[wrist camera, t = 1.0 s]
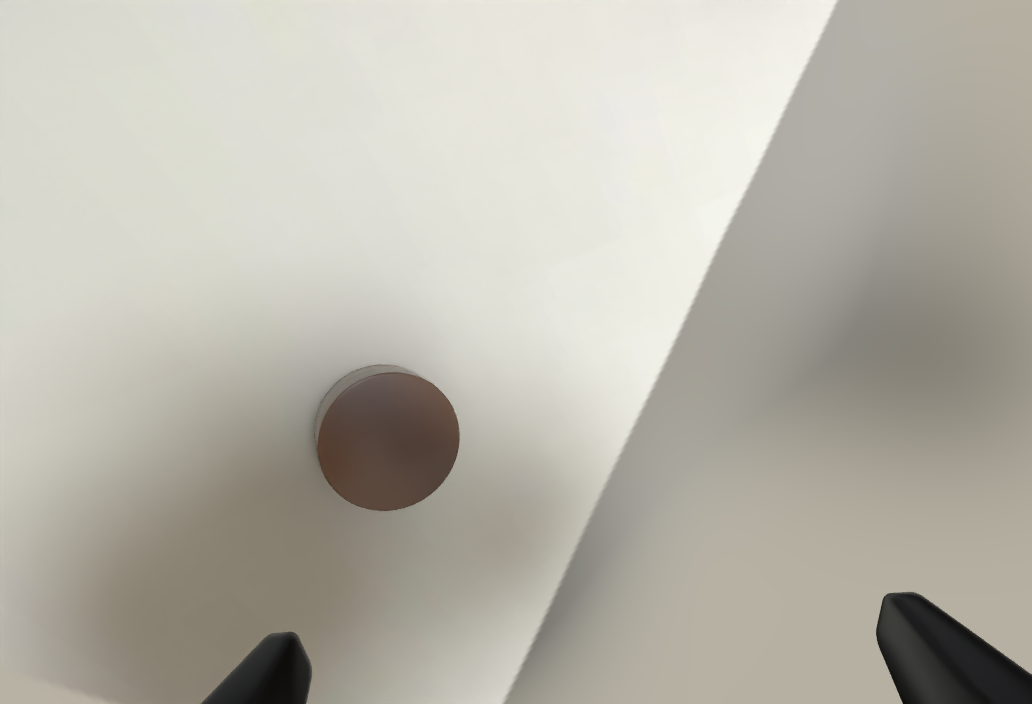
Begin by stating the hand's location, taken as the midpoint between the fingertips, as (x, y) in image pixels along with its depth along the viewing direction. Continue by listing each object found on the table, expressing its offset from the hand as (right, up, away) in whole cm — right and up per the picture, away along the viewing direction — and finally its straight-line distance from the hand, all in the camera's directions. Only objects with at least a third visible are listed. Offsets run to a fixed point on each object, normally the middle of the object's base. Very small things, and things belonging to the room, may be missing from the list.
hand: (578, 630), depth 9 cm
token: (-6, +2, +11) cm, 13 cm away
